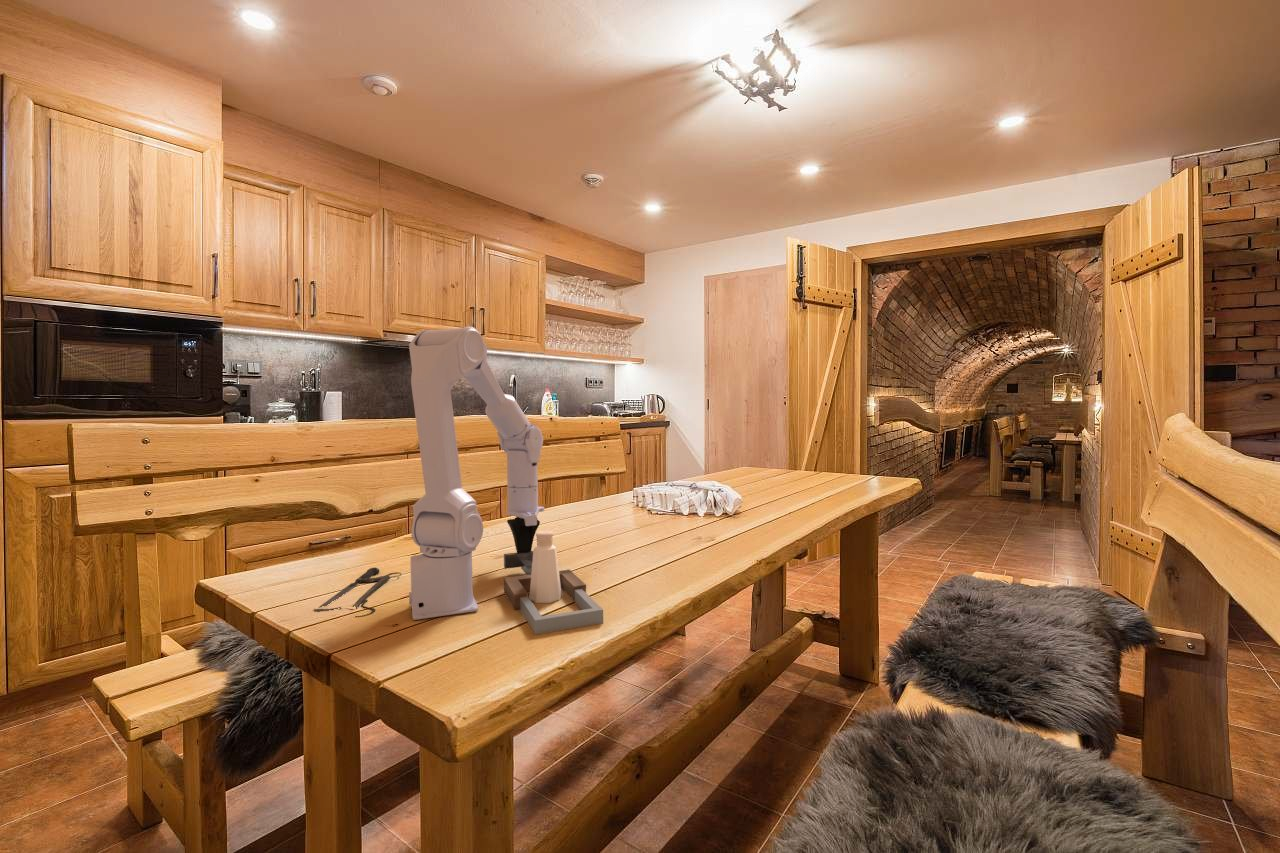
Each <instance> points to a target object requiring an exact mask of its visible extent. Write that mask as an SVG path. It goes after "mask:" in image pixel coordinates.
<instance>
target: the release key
mask: <svg viewBox="0 0 1280 853" xmlns="http://www.w3.org/2000/svg"><path fill="white" fill-rule="evenodd" d="M532 560H533V550H531V551H526V552H517V551H516V552H510V553H509V552H508V553H503V568H504V569H505V570H506V569H513V568H514V569H515V568H521V570H522V572H523V573H524V575H531V572H532Z"/></svg>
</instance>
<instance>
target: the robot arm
mask: <svg viewBox="0 0 1280 853" xmlns="http://www.w3.org/2000/svg"><path fill="white" fill-rule="evenodd" d="M408 348H409V357H410V363H411V375H410V376H411V377H410V386H411V392H412V400H413V407H414V408H413V409H414V415H415V423H416V430H417V437H418V446H419V454H420V461H421V469H422V470H421V471H422V476H423V477H422V478H423V483H424V484H423V485H424V492H425V494H423V496H422V497H420V498H419V499H418V500H417V501H416V502H415V503H414V504H413V506H412V511H413V518H412V522H411V530H410V531H411V537H412V540H413V542H414V543H415V544H416V545H417V546H418V547H419V552H420V554H416V555H411V556H410V560H409V561H410V592H409V593H408V599H409V601H408V603H409V605H411V614H412V617H411V618H412V620H414V621H417V620H423V619H424V620H425V619H431V618H437V617H442V616H443V617H445V616H450V615H451V616H452V615H458V614H464V613H470V612H471V613H473V612H477V611H478V610H479V605H478V603H477V601H476V599H475V596H474V593H473V588H474V586H473V585H474V584H473V583H474V582H473V552H474V551H476V550H477V549H476V548H477V547H478V545H479V544H480V542H481V540H482V537H483V534H484V523H483V519H482V517H481V515H480V513H479V510H478V506H477V505H478V504H477V501H476V500H475V498H473V497H472V496H471V495H470V494H469V493H468V492H467V491H466V490H464V489H463V483H462V475H461V467H460V459H459V451H458V442H457V433H456V427H455V416H454V409H453V401H452V400H453V399H452V389H453V388H454V387H455V384H456V383H457V382H458V381H461V380H463V378H465V379H466V381H467V382H468V383H469V385H470V386H472V388H473V389H474V391H475V392H476V393H477V395H478V396H479V397H480V398H481V399H482V400H483V401H484V403H485V404H486V405H485V410H484V412H485V415H486V416H487V417H488V419H489V421H490V422H491V423H492V425H493V426H494V428H495V429H496V430H497V432H496V433H497V436H498V438H499V446H500V448H501V450H503V452H505V453H506V473H507V474H506V479H507V480H506V481H507V482H506V483H507V484H506V485H507V486H506V487H507V491H506V492H507V509H506V514H507V515H509V516H513V517H515V518H511V519H507V520H506V522H507V524H508V527H509V528H510V531H511V533H512V537H513V541H514V546H515V551H516V553H517V552H526V551H532V549H533V543H534V540H535V539H534V538H535V536H536V533H537V530H538V528H539V526H540V524H541V522H540V520H539V519H538V515H539V513H540V512H541V513H542V512H545V507H544V506H539V491H538V490H539V488H538V487H539V486H538V485H539V484H538V483H539V482H538V481H539V479H538V478H539V477H538V462H540V459H541V450H542V448H543V444H544V437H543V433H542V430H541V428H540V427H538V426H537V425H536V424H534V423H531V422H530V421H529V419H528V418H527V416H526V414H525V413H524V412H523V410H522V408H521V407H520V405H519V403H518V402H517V400H516V398H515V397H514V396H513V395H512V394H508V393H504V392H503V390H502V387H501V385H500V383H499V382H498V380H497V378H496V376H495V374H494V372H493V371H492V369H491V366H490V364H489V363H488V360H487V356H488V346H487V344H486V342H484V339H483V336H482V334H481V333H480V332H479V331H478V329H476V328H475V327H473V326H464V327H461V328H460V327H457V328H449V329H448V328H447V329H446V328H445V329H433V330H431V329H423V330H420V331H419V332H418V333H416V335H415V336H414V337H413V339H412V340H411V341H410V343H409V344H408Z"/></svg>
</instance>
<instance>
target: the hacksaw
mask: <svg viewBox="0 0 1280 853" xmlns="http://www.w3.org/2000/svg"><path fill="white" fill-rule="evenodd" d="M376 574H377V575H378V574H380V569H379V568H378V567H371V568H368V569H367V570H366V572H364V573H362V574H361V575H360V576H359V577H358V578H356V579H355V582H351V583H349V585H347V586H345V587H344V588H343V589H341V590H340V591H339V592H337V593H336V594H335V595H333V596H332V597H330V598H329V599H327V601H325V602H323V603H322V604H320V606H318V608H314V609H313V610H311V612H313V613H320V612H330V611H329V610H331V611H335V610H334V609H338V608H341V607H342V606H338V607H334V608H333V607H332V608H323V607H322V606H324V607H328V606H329V605H328V604H330V603H331V602H332V601H334V600H335V601H337V600H338V599H340V598H341V597H343V596H344V595H346V594H347V593H348V592H350V591H351V590H352V589H354V588H355V587H356V586H358V583H359V584H362V583H369V582H376V583H374V585H372V586H371V587H370V588H369V589H368V590H367V591H366V592H365V593H363V594H362V595H361V596H360V597H359V598H358V599H357V601H356V602H355V603H354V604H352V607H354V606H355V607H356V610H357V609H358V608H359V606H360V607H361V608H362V607H363V609H365V608H366V609H365V610H371V612H369V613H366V614H364V615H363V614H362V615H354V616H355V617H354V618H361V617H363V618H364V617H366V616H370V615H372V614H374V613H375V612H376V608H374V607H368V606H364V605H365V604H366V603H368V598H369V597H370V596H371V595H373V594H374V593H375V592H376V591H377V590H379V589H380V588H381V587H382V586H383V585H384V584H385V583H386V582H388V581H389V580H390V579H391V577H390V576H391V575H397V574H399V575H397V576H395V577H393V579H396V578H398V577H401V576H402V573H401V572H397V571H396V572H390V573H387V574H385V575H381V576H377V575H376ZM373 575H374V576H377V577H373ZM371 576H372V577H371ZM346 592H347V593H346ZM343 594H344V595H343ZM342 595H343V596H342ZM339 597H340V598H339ZM336 599H337V600H336ZM335 601H334V602H335ZM331 604H332V603H331ZM331 604H330V605H331ZM360 604H361V605H360ZM327 605H328V606H327ZM357 607H358V608H357ZM338 610H339V609H338Z"/></svg>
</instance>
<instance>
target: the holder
mask: <svg viewBox="0 0 1280 853" xmlns="http://www.w3.org/2000/svg"><path fill="white" fill-rule="evenodd" d="M559 576H560V584H561V590H563V591H564V592H565V594H566V595H567V596H568V597H569V598H571V600H572V601H574V602H573V603H575V590H577V589H582V590H583V591H584V592H586V593H587V584H586V583H585V582H583V581H582V580H581V578H579V577H578V576H577V575H576V574H575V573H574V572H573V571H572V570H570V569H564V570H563V569H562V570H559ZM530 584H531V575H526V574H523V575H516V576H508V577H507V576H506V577H503V593H504V595H505V597H506V599H507V600H508V601H509V603H510V605H511V607H512V608H513V610H514V611H520V598H521V597H528V594H530Z"/></svg>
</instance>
